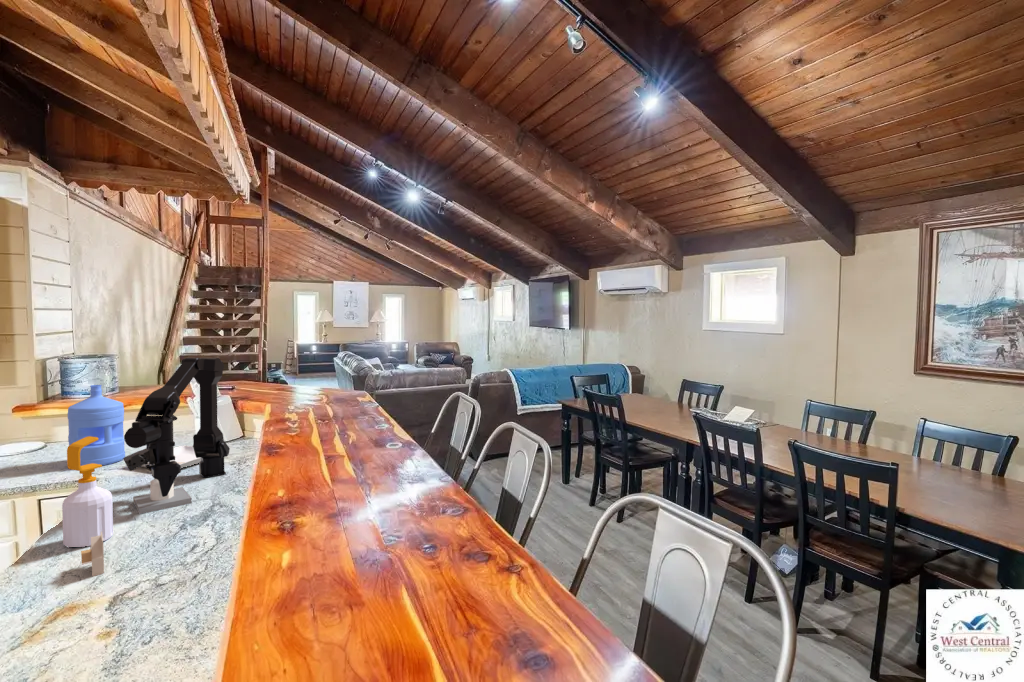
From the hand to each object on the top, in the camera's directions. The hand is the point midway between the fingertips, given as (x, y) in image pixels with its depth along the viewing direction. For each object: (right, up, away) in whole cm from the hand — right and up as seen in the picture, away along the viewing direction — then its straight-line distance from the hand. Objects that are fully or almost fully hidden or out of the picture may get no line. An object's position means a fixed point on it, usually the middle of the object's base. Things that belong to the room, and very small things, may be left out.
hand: (162, 492), depth 141 cm
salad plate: (-21, -1, +38) cm, 44 cm away
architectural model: (+13, -5, -37) cm, 40 cm away
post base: (0, -3, 0) cm, 3 cm away
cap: (0, -1, 0) cm, 1 cm away
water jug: (-50, -1, +38) cm, 63 cm away
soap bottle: (0, -4, -24) cm, 24 cm away
